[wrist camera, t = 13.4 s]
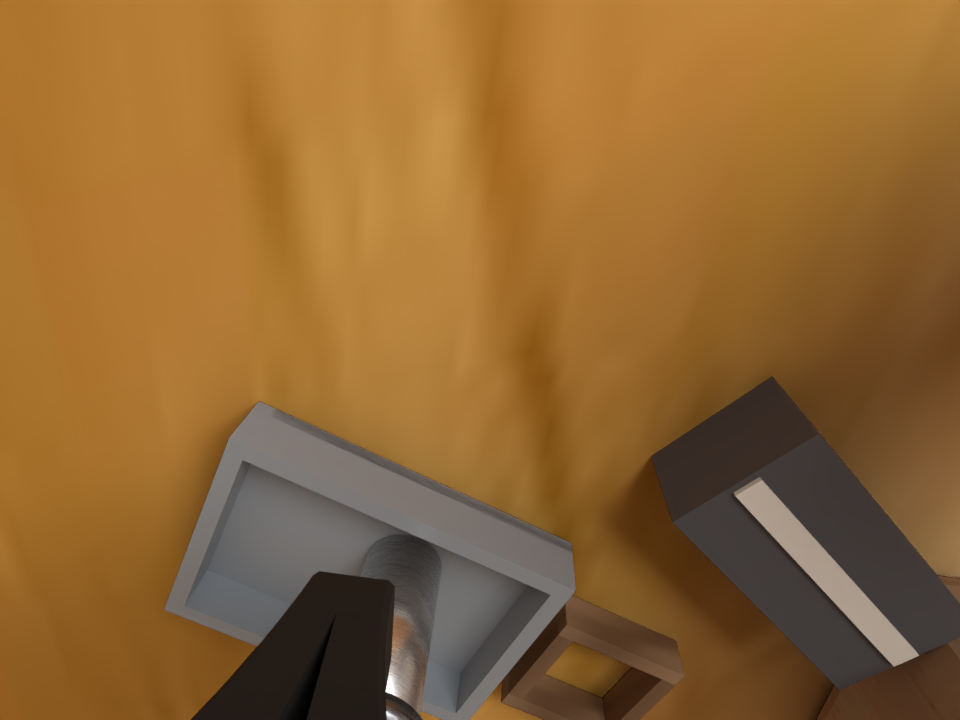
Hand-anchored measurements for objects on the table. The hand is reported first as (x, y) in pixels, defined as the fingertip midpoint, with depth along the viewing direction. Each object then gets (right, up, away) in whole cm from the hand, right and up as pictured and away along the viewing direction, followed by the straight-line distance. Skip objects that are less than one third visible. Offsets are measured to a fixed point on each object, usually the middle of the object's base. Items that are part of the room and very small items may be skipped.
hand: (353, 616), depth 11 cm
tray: (-2, -3, +12) cm, 13 cm away
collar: (+6, -7, +14) cm, 17 cm away
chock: (+13, 0, +10) cm, 16 cm away
